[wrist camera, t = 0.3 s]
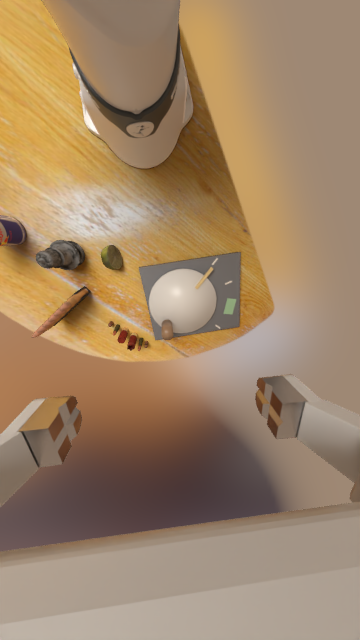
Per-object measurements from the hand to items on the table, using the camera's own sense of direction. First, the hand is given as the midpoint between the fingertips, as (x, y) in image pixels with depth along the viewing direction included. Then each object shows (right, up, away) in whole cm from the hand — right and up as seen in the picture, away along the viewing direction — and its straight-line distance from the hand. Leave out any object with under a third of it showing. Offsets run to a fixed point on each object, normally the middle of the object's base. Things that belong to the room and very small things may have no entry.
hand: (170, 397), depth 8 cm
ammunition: (-14, 0, +42) cm, 44 cm away
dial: (+2, +9, +37) cm, 38 cm away
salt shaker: (-24, +18, +32) cm, 44 cm away
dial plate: (+4, +9, +39) cm, 40 cm away
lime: (-15, +18, +33) cm, 40 cm away
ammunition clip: (-26, +8, +37) cm, 46 cm away
